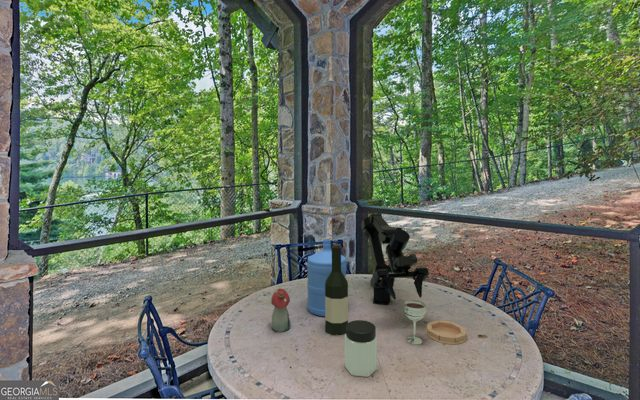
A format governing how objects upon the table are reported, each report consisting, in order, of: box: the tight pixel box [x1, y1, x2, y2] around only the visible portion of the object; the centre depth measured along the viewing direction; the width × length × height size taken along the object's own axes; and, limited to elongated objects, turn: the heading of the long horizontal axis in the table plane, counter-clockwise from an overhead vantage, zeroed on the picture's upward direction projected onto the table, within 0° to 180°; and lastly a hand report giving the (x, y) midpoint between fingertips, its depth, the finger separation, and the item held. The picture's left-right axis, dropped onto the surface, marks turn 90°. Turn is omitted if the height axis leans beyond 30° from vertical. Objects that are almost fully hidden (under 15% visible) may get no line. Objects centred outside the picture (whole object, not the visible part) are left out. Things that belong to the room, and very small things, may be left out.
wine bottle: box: [324, 243, 349, 336], centre depth 112 cm, size 8×8×30 cm
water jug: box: [306, 239, 348, 317], centre depth 130 cm, size 16×16×28 cm
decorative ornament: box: [270, 288, 292, 333], centre depth 115 cm, size 9×6×15 cm
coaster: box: [425, 320, 468, 345], centre depth 109 cm, size 13×13×2 cm
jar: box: [344, 319, 378, 378], centre depth 90 cm, size 9×8×12 cm
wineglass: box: [403, 299, 427, 345], centre depth 105 cm, size 7×7×12 cm
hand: (407, 297), depth 110 cm, fingers open, 9 cm apart
